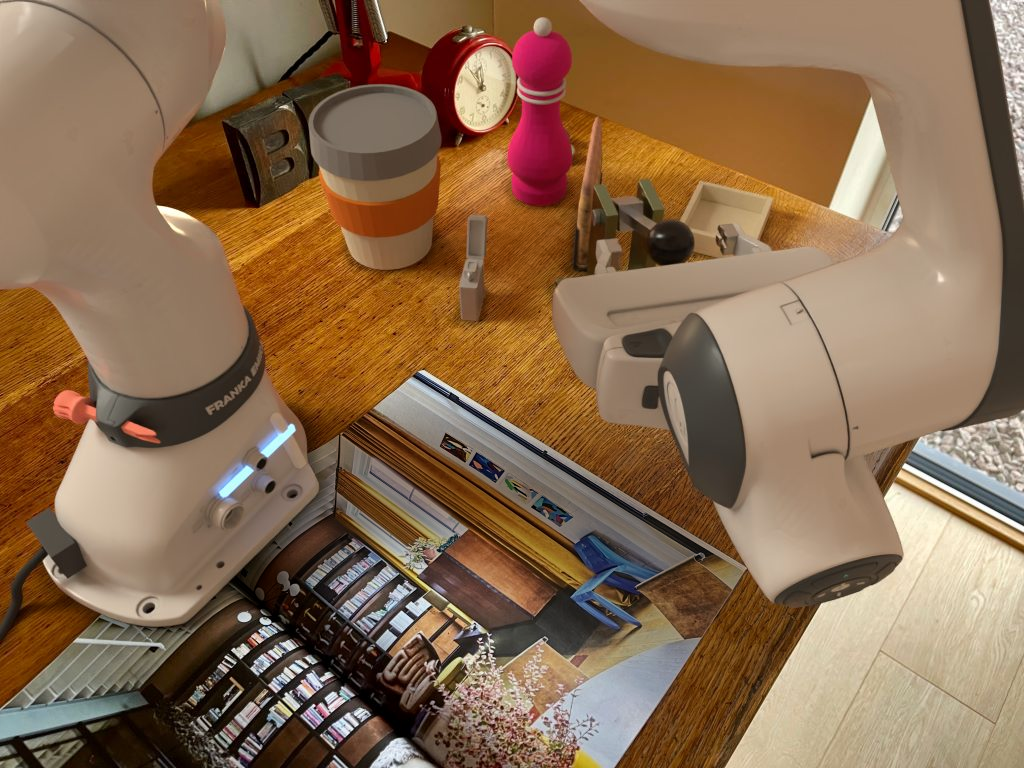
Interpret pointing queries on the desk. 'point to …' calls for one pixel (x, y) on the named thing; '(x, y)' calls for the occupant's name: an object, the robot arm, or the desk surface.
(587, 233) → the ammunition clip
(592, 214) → the slicer
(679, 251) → the lever
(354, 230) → the reusable coffee cup
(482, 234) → the lighter
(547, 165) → the pepper mill
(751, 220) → the butter dish
